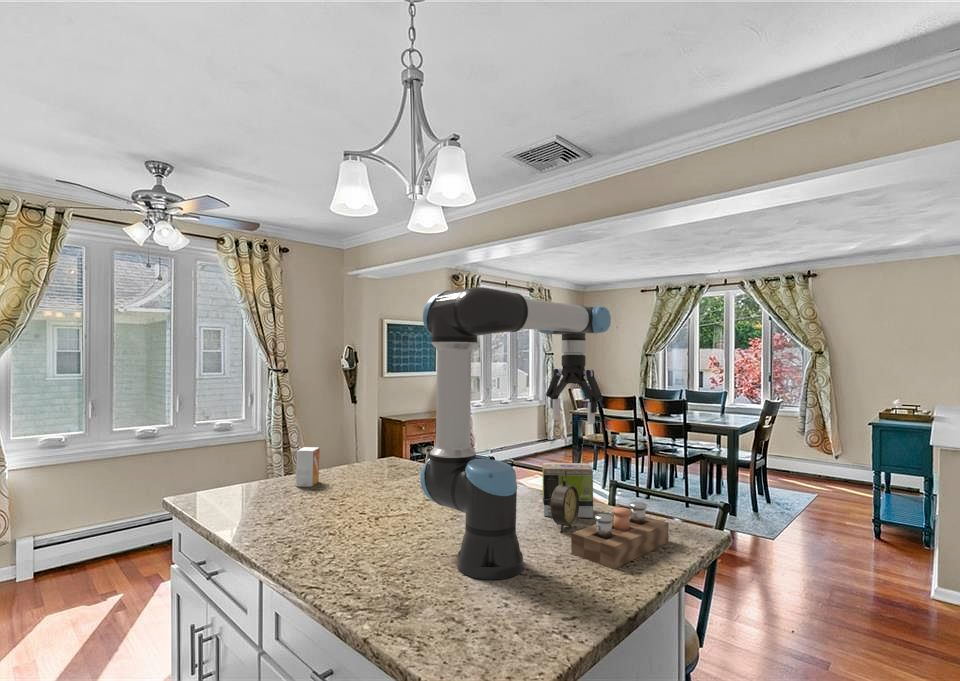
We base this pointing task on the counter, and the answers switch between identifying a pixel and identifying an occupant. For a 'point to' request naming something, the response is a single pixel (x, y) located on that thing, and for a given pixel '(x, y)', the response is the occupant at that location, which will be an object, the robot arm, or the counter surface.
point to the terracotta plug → (621, 519)
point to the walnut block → (619, 543)
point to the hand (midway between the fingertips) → (573, 421)
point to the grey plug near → (604, 526)
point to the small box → (307, 466)
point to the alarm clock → (564, 504)
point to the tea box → (577, 477)
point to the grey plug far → (637, 512)
